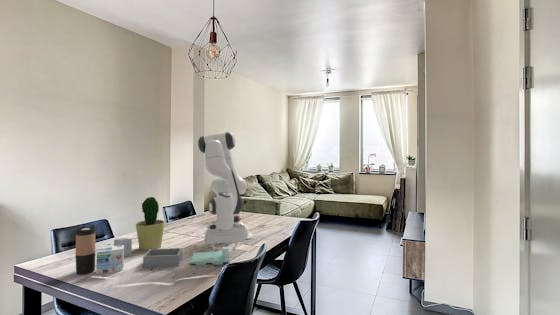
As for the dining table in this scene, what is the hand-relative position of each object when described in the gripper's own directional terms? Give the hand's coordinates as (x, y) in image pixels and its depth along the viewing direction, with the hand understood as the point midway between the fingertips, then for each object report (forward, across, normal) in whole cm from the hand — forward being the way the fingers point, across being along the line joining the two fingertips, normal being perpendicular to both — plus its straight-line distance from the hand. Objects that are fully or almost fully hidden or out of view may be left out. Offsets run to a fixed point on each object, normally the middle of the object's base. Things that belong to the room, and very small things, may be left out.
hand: (224, 251), depth 155 cm
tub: (+5, +30, +2) cm, 30 cm away
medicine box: (+5, +54, -14) cm, 56 cm away
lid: (+3, +7, 0) cm, 8 cm away
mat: (+5, +8, 0) cm, 9 cm away
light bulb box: (+5, +52, +8) cm, 52 cm away
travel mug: (+5, +62, +7) cm, 63 cm away
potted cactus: (+5, +42, -25) cm, 50 cm away
